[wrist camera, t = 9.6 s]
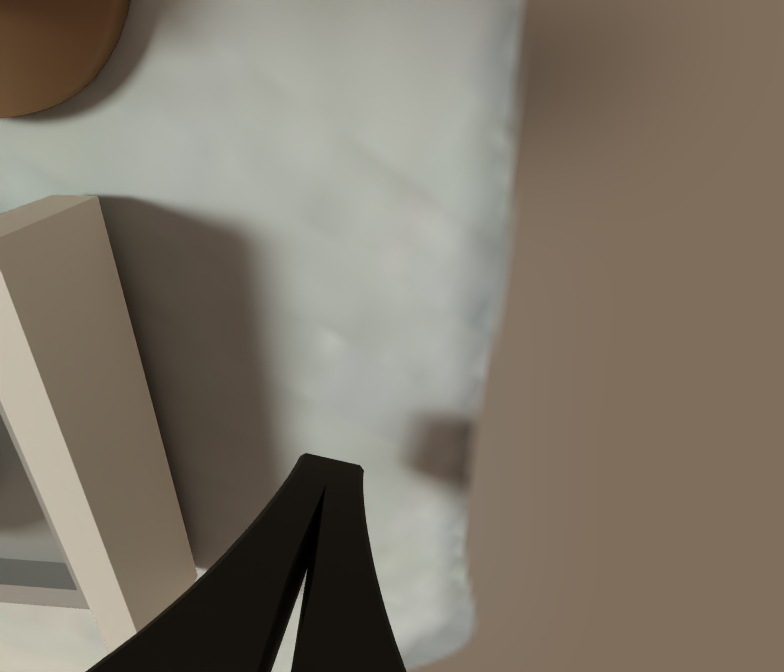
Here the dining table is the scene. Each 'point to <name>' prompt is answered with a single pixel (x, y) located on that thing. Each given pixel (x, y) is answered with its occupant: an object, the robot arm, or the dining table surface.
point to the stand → (53, 49)
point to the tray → (80, 431)
